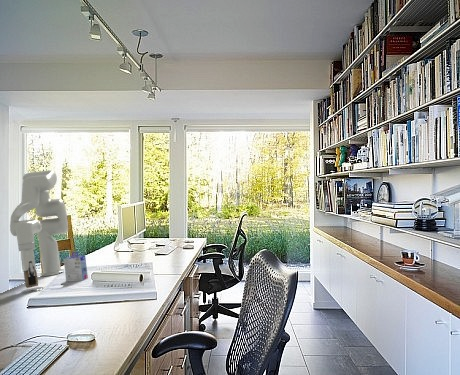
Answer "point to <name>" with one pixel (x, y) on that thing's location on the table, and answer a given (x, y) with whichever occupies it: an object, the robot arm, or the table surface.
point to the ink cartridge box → (75, 268)
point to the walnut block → (27, 279)
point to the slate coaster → (32, 290)
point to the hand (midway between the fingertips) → (31, 283)
